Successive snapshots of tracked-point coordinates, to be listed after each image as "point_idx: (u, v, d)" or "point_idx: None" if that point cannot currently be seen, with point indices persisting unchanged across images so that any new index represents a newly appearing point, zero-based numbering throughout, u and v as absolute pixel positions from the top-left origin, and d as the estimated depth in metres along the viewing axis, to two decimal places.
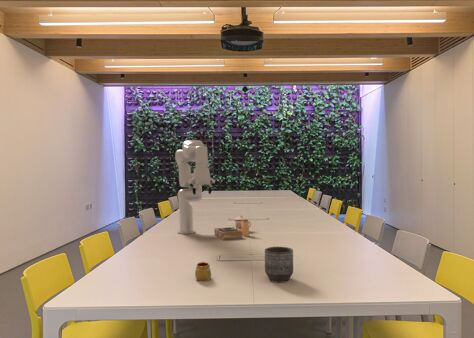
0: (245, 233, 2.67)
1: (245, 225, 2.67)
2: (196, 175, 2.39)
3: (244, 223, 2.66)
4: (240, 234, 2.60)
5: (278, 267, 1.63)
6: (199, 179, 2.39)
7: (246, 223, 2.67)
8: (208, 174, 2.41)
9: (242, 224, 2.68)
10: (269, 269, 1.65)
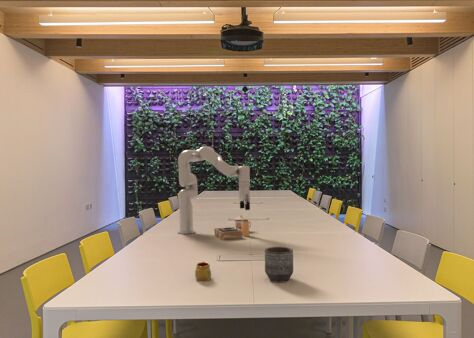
0: (245, 233, 2.67)
1: (245, 225, 2.67)
2: (249, 192, 2.65)
3: (244, 223, 2.66)
4: (240, 234, 2.60)
5: (278, 267, 1.63)
6: None
7: (246, 223, 2.67)
8: None
9: (242, 224, 2.68)
10: (269, 269, 1.65)
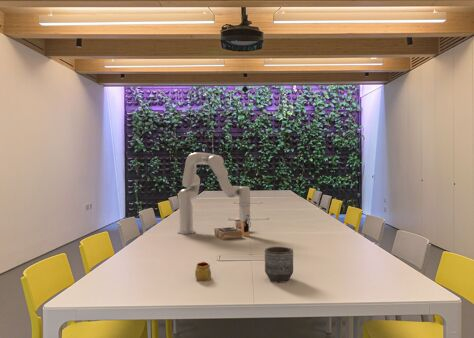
0: (245, 233, 2.67)
1: None
2: (249, 213, 2.66)
3: None
4: (240, 234, 2.60)
5: (278, 267, 1.63)
6: None
7: None
8: None
9: (242, 224, 2.68)
10: (269, 269, 1.65)
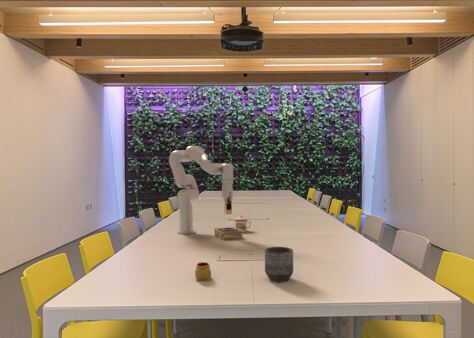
0: (227, 211, 2.63)
1: None
2: (232, 190, 2.62)
3: None
4: (240, 234, 2.60)
5: (278, 267, 1.63)
6: None
7: None
8: None
9: (225, 202, 2.64)
10: (269, 269, 1.65)
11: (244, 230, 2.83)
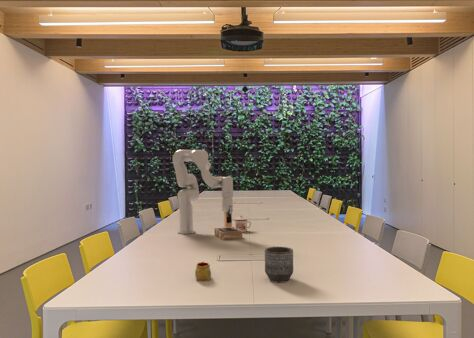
0: (227, 224, 2.63)
1: None
2: (232, 203, 2.62)
3: None
4: (240, 234, 2.60)
5: (278, 267, 1.63)
6: None
7: None
8: None
9: (225, 215, 2.64)
10: (269, 269, 1.65)
11: (244, 230, 2.83)
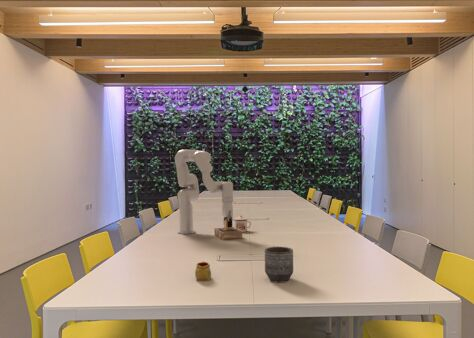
0: None
1: None
2: (232, 208, 2.62)
3: (227, 223, 2.63)
4: (240, 234, 2.60)
5: (278, 267, 1.63)
6: None
7: None
8: None
9: (225, 224, 2.65)
10: (269, 269, 1.65)
11: (244, 230, 2.83)
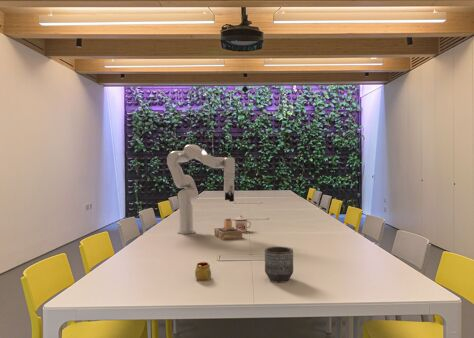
0: None
1: (228, 225, 2.64)
2: None
3: (227, 223, 2.63)
4: (240, 234, 2.60)
5: (278, 267, 1.63)
6: None
7: (229, 223, 2.64)
8: None
9: (225, 224, 2.65)
10: (269, 269, 1.65)
11: (244, 230, 2.83)
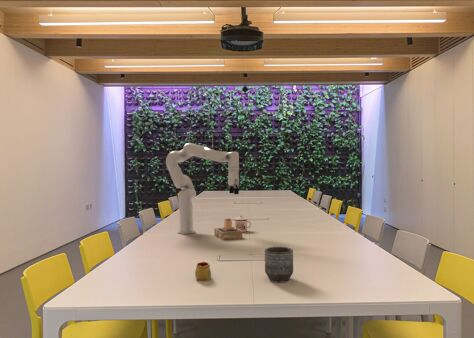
0: None
1: (228, 225, 2.64)
2: (238, 177, 2.73)
3: (227, 223, 2.63)
4: (240, 234, 2.60)
5: (278, 267, 1.63)
6: None
7: (229, 223, 2.64)
8: None
9: (225, 224, 2.65)
10: (269, 269, 1.65)
11: (244, 230, 2.83)
